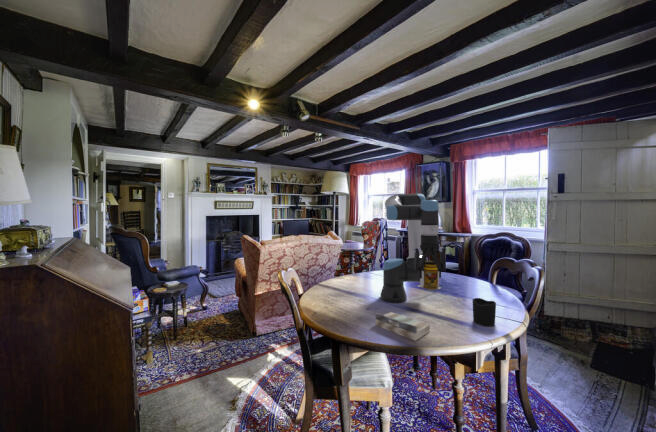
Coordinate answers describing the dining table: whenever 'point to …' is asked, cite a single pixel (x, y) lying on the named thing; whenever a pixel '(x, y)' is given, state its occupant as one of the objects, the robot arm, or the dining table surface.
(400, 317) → the cream flat block
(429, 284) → the condiment
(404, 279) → the robot arm
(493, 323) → the pen holder
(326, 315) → the dining table surface
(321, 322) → the dining table surface
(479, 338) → the dining table surface
